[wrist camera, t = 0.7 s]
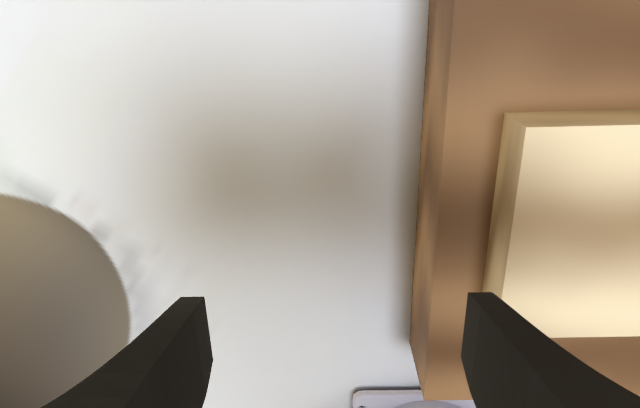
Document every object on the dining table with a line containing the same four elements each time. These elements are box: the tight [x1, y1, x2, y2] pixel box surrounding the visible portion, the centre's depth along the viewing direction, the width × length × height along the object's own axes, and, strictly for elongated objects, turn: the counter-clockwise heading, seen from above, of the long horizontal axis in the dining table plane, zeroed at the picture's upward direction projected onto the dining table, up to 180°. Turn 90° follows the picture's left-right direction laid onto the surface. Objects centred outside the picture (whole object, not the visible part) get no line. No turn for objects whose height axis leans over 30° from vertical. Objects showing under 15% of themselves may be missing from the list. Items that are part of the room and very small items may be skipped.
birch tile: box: [482, 109, 640, 338], centre depth 18 cm, size 8×6×2 cm
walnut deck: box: [410, 0, 640, 401], centre depth 20 cm, size 18×12×4 cm, turn 1°
